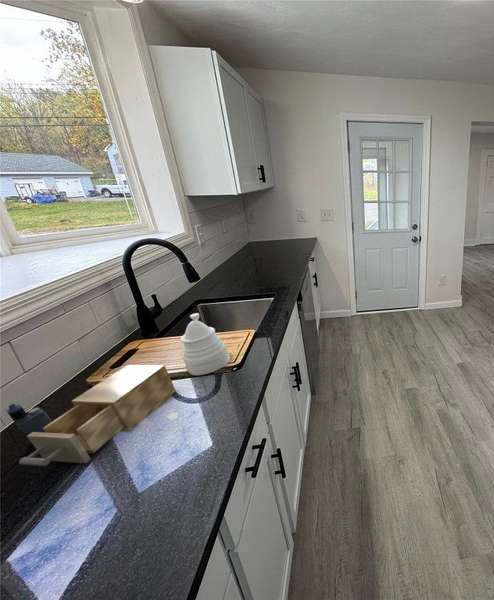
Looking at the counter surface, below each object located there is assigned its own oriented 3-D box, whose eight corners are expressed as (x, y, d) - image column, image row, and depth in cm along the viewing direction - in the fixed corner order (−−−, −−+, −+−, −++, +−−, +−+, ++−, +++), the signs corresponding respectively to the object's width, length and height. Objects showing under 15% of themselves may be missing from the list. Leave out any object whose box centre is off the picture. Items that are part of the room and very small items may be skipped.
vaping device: (28, 445, 79) (1, 408, 75) (53, 429, 84) (29, 393, 79) (35, 446, 79) (8, 409, 74) (60, 430, 83) (36, 394, 79)
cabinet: (130, 431, 81) (113, 402, 77) (88, 429, 83) (71, 401, 79) (176, 391, 95) (164, 365, 92) (140, 390, 97) (127, 364, 93)
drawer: (64, 481, 68) (45, 455, 65) (21, 478, 69) (0, 453, 66) (140, 416, 85) (128, 393, 82) (104, 415, 86) (91, 392, 83)
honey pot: (197, 356, 113) (179, 312, 106) (234, 350, 115) (219, 306, 108) (181, 378, 101) (160, 329, 94) (222, 371, 103) (205, 323, 96)
